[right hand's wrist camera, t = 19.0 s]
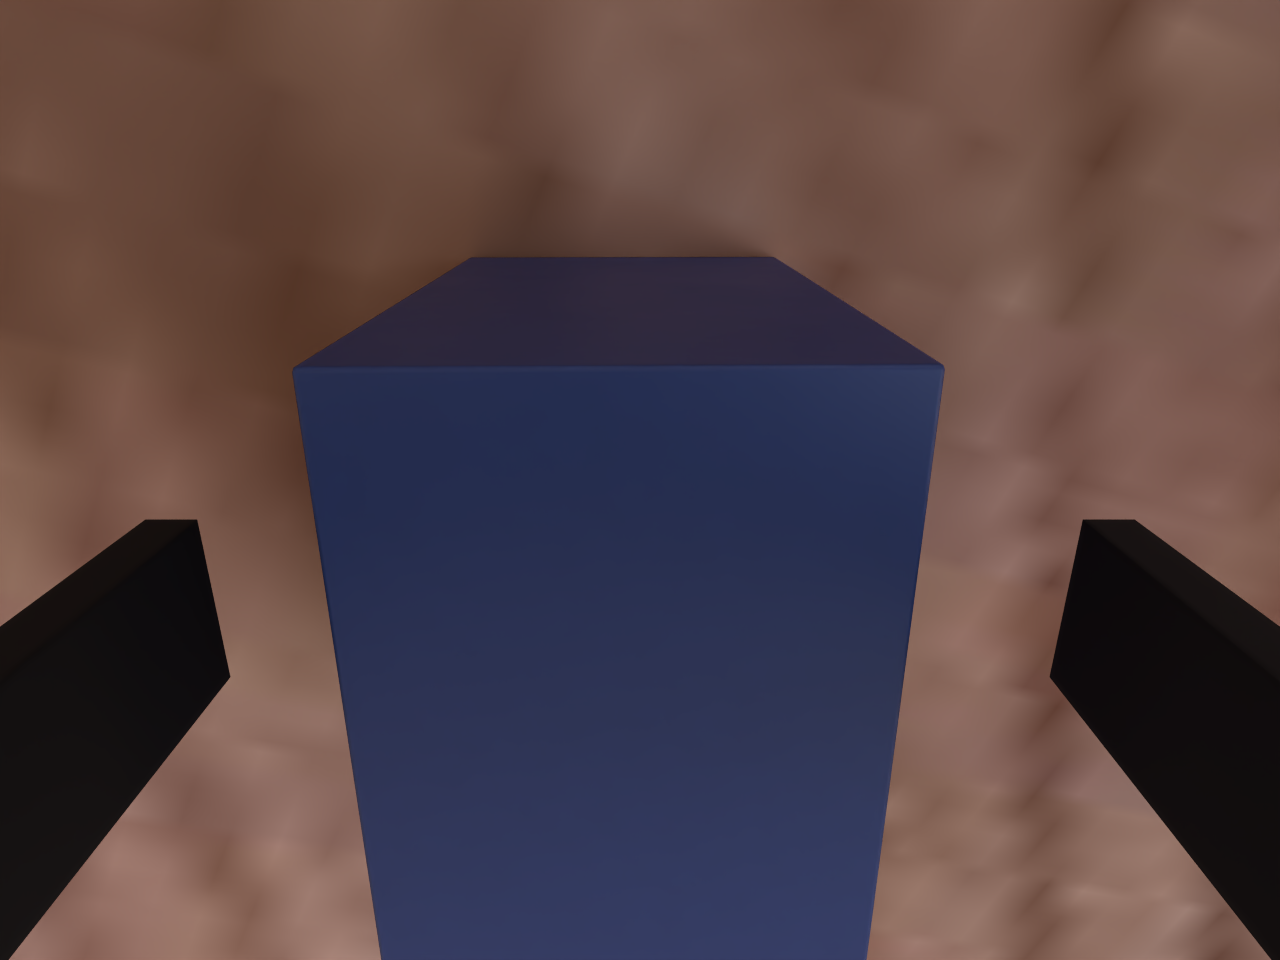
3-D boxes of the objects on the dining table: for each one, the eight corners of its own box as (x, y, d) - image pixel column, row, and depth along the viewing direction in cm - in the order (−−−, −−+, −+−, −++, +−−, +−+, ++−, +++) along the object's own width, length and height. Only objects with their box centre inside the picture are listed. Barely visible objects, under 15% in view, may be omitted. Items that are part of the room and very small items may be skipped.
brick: (468, 257, 18) (288, 367, 8) (776, 257, 18) (947, 364, 8) (495, 624, 21) (386, 1009, 12) (755, 622, 21) (862, 1001, 12)
